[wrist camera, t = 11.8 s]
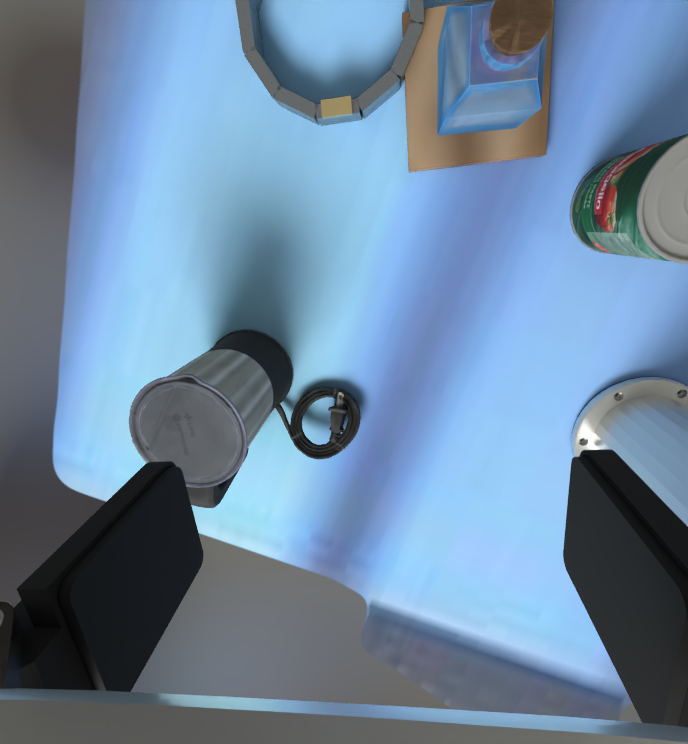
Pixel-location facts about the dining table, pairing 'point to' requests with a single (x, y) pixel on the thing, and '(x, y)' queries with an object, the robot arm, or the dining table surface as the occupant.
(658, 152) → the canned tomato
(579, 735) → the robot arm
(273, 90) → the collar
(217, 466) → the milk frother
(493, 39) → the perfume bottle
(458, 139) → the pad
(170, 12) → the dining table surface
